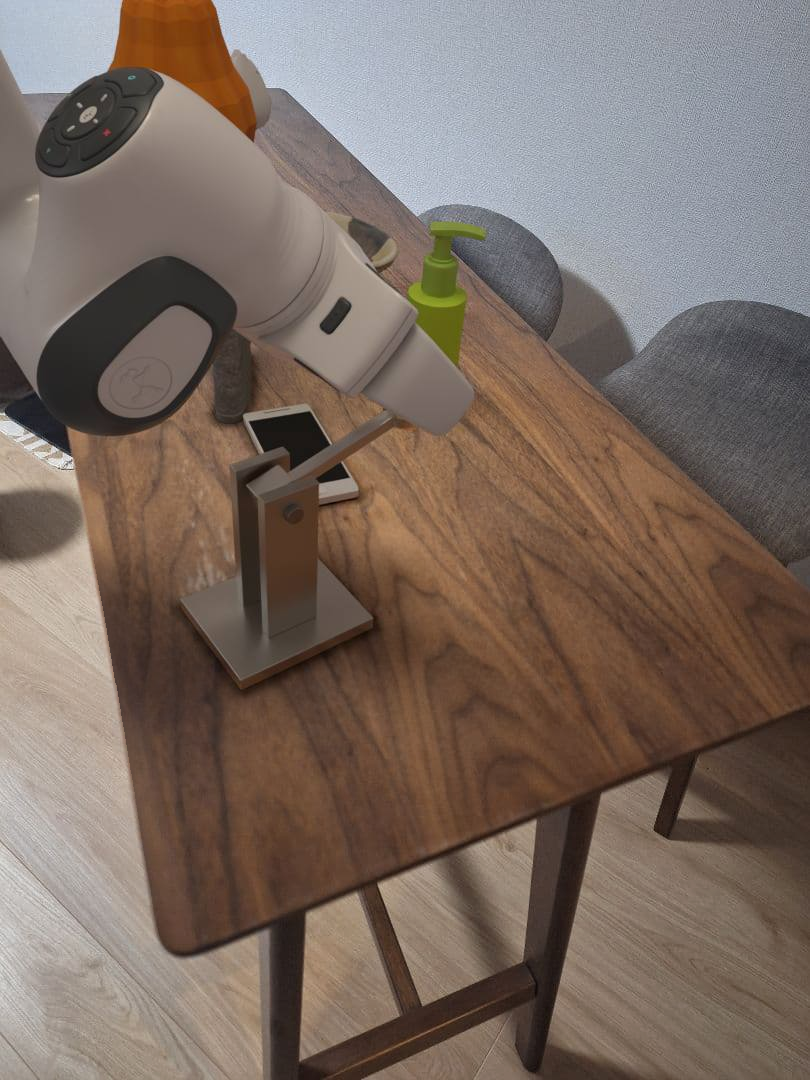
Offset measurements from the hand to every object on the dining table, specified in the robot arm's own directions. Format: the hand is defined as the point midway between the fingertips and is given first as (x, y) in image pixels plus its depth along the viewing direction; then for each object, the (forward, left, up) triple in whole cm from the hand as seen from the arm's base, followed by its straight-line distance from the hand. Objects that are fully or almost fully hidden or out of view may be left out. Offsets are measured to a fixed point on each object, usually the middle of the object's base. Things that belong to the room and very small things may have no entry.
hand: (410, 379), depth 67 cm
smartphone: (-5, +17, -19) cm, 26 cm away
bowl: (+4, +47, -19) cm, 51 cm away
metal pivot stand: (-11, -4, -19) cm, 22 cm away
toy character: (+5, +116, -19) cm, 118 cm away
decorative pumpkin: (-8, +94, -19) cm, 96 cm away
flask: (-9, +31, -19) cm, 38 cm away
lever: (-5, -2, -6) cm, 8 cm away
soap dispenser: (+11, +24, -19) cm, 33 cm away
